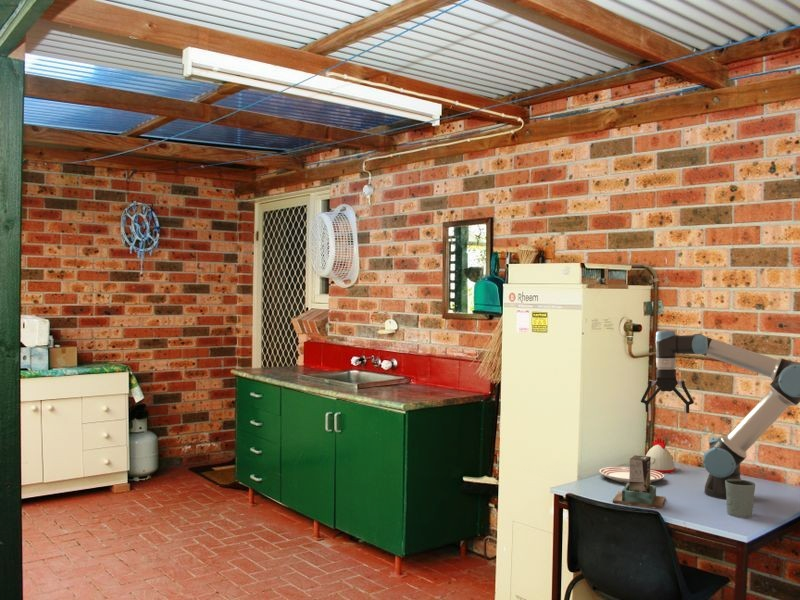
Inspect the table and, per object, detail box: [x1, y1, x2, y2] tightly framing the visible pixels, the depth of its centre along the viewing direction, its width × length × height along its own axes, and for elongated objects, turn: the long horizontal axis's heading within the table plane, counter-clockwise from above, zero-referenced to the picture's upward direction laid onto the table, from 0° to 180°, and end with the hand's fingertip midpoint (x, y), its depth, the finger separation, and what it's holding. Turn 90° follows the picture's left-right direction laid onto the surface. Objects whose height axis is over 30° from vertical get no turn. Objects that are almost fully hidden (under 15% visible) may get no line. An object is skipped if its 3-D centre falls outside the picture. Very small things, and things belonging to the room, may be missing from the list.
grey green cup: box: [725, 479, 756, 519], centre depth 273 cm, size 10×10×12 cm
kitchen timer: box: [645, 437, 676, 474], centre depth 344 cm, size 14×14×15 cm
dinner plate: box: [599, 466, 665, 484], centre depth 327 cm, size 28×27×3 cm
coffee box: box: [629, 454, 651, 493], centre depth 291 cm, size 9×6×16 cm
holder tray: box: [612, 483, 666, 509], centre depth 291 cm, size 18×15×5 cm
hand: (667, 420), depth 300 cm, fingers open, 13 cm apart
